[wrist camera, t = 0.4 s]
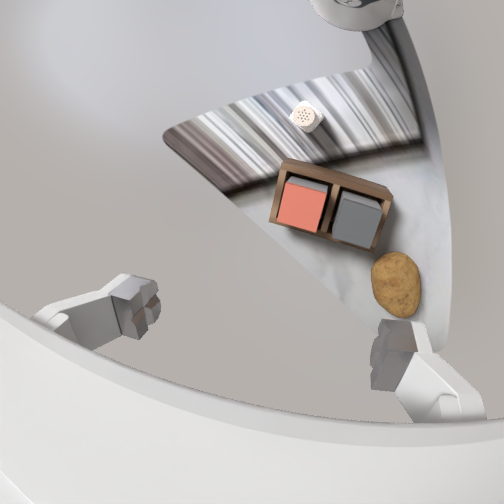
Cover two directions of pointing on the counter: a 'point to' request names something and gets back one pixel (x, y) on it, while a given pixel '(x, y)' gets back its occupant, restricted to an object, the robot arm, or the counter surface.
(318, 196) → the red and grey cube
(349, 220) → the grey cube
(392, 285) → the potato
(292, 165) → the wooden divided tray
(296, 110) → the pepper shaker
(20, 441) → the robot arm
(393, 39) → the counter surface
